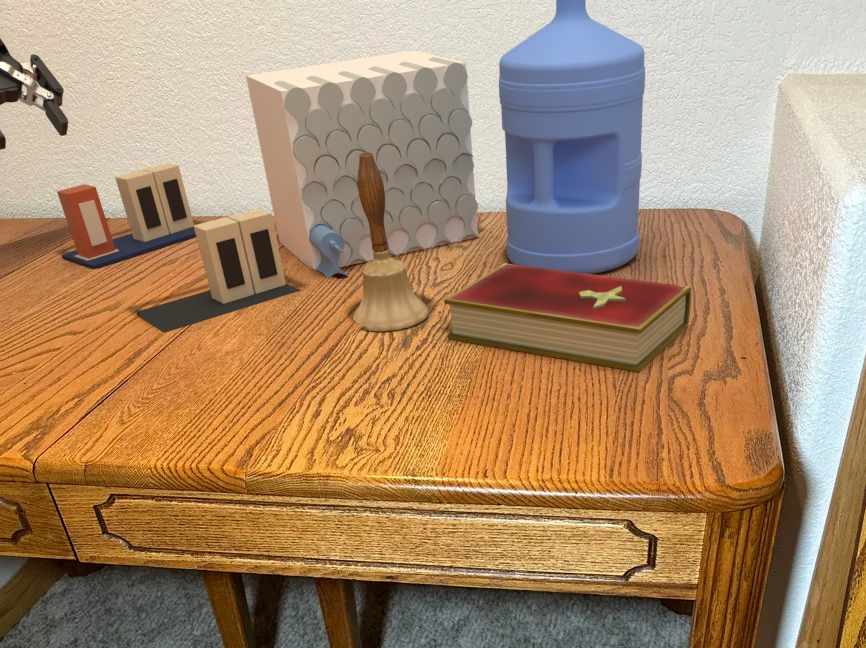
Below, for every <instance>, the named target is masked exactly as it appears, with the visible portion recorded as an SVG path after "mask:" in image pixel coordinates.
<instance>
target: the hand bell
mask: <svg viewBox="0 0 866 648" xmlns="http://www.w3.org/2000/svg"><path fill="white" fill-rule="evenodd" d="M357 184H358V192H359V197H360V201H361V204H362V208H363V210H364V212H365V215H366V217H367V219H368V222H369V227H370V234H371V243H372V249H373V255H374V259H373V260H370V261H369V262H368V263H367V264H366V265H364V267H363V268H362V280H363V281H362V282H363V283H362V296H361V300H360V302H359V306H358V307H357V309H356V310H355V311H354V313H353V314H352V315H353V316H352V320H353V321H354V322H355V323H357V324H358V325H360V326H362V327H360V328H359V329H360V330H364V331H368V332H376V333H377V332H378V333H380V332H381V333H383V332H392V331H393V332H395V331H399V330H404V329H408V328H411V327H415V326H417V325H418V324H421V323H422V322H424V321H425V320H426V319H427V318H428V317H429V313H430V310H429V308H428V307H427V305H426V304H425V303H424V302H423V301H422V300H420V299H419V298H418V296H417V295H416V294H415V292H414V290H413V289H412V286H411V283H410V281H409V277H408V274H407V269H406V266H405V264H404V263H403V262H402V261H401V260H399V259H395V258H393V256H390V251H389V248H388V243H387V237H386V232H385V226H384V211H385V191H384V185H383V180H382V177H381V174H380V172H379V169H378V167H377V165H376V163H375V161H374V158H373V155H372V153H362V154H360V155H359V169H358V178H357Z"/></svg>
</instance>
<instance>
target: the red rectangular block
mask: <svg viewBox="0 0 866 648" xmlns="http://www.w3.org/2000/svg"><path fill="white" fill-rule="evenodd" d="M56 194H57V196H58V200H59V201H60V205H61V208H62V211H63V214H64V217H65V219H66V222H67V225H68V228H69V231H70V234H71V237H72V240H73V243H74V246H75V250H77V252H78V255H80V256H83V257H86V258H89V259H90V258H93V257H96V256H100V255H103V254H106V253H109V252H112V251H115V250H116V249H115V246H114V243H113V240H112V239H113V237H112V234H111V231H110V228H109V224H108V221H107V217H106V215H105V212H104V209H103V205H102V202H101V199H100V196H99V192H98V190H97V187H96V186H94V185H89V184H85V183H83V184H80V185H76V186H73V187H68V188H64V189H61V190H57V191H56Z"/></svg>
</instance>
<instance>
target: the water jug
mask: <svg viewBox="0 0 866 648" xmlns="http://www.w3.org/2000/svg"><path fill="white" fill-rule="evenodd" d="M586 2H587V1H586V0H555V14H554V17H553V18H552V20H551V21H549V22H548V23H547V24H545V25H544V26H543V27H541V28H539V29H538V30H536V32H533V34H531V35H530V36H528V37H526V38H525V39H524V40H522V41H520V43H518V44H517V45H516V46H513V47H512V48H511V49H510V50H508V51H507V52H505V53H504V54H503V55H502V56H500V59H499V62H498V64H499V65H498V70H499V77H498V96H499V97H498V99H499V105H500V109H501V110H500V111H501V128H502V130H503V131H504V141H505V143H504V144H505V163H506V164H505V166H506V183H507V184H506V185H507V186H506V187H507V188H506V198H505V211H506V214H505V215H506V230H507V232H506V233H507V237H506V255H507V258H508V260H509V261H510V263H511V264H513V265H521V266H529V267H537V268H545V269H553V270H561V271H569V272H577V273H585V274H593V275H598V274H601V273H605V272H609V271H613V270H615V269H618V268H621V267H622V266H624V265H626V264H628V263H629V262H631V260H633V258H635V256H636V255H637V253H638V252H639V251H638V250H639V245H640V231H639V214H640V212H639V210H640V187H641V186H640V185H641V184H640V183H641V178H642V171H643V170H642V169H643V168H642V167H643V153H642V133H643V110H644V109H643V105H644V94H645V87H646V67H645V50H644V47H643V46H642V45H641V44H639V43H637V42H636V41H634V40H632V39H630V38H629V37H627V36H624V35H623V34H621V33H619V32H617V31H615V30H614V29H612V28H610V27H608V26H606V25H604V24H602V23H600V22H598V21H597V20H595V19H593V18H591V17H590V16H589V14H588V12H587V6H586V5H587V3H586Z"/></svg>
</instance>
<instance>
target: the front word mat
mask: <svg viewBox="0 0 866 648" xmlns="http://www.w3.org/2000/svg"><path fill="white" fill-rule="evenodd" d="M274 224H275V223H274V219H273V215H272V213H271V212H270V211H267V210H264V209H261V208H256V209H252V210H249V211H244V212H241V213H237V214H236V213H235V214H232V215H229V216H228V217H226V216H225V217H221V218H217V219H214V220H210V221H205V222H202V223H197V224H194V229H195V233H196V237H195V238H196V240H197V245H198V249H199V252H200V256H201V260H202V264H203V267H204V272H205V275H206V280H207V284H208V287H209V290H205V291H202V292H199V293H195V294H191V295H189V296H188V295H187V296H185V297H181V298H178V299H175V300H171V301H167V302H163V303H161V304H158V305H155V306H150V307H148V308H144V309H141V310H137V311H136V316H137V317H138V318H140V319H142V320H144V321H145V322H147V324H150V325H152V326H153V327H154V328H156V329H158V330H159V331H160V332H162V333H164V334H166V333H169V332H171V331H175V330H178V329H182V328H185V327H188V326H191V325H194V324H198V323H201V322H205V321H207V320H211V319H215V318H217V317H220V316H223V315H226V314H230V313H234V312H236V311H239V310H243V309H246V308H249V307H253V306H255V305H259V304H262V303H265V302H269V301H272V300H275V299H278V298H281V297H285V296H288V295H291V294H294V293H298V292H300V291H301V289H299V288H297V287H295V286H293V285H291V284H289V283H287V282H286V278H285V273H284V268H283V262H282V258H281V253H280V250H279V248H280V247H279V244H278V239H277V234H276V230H275V225H274Z"/></svg>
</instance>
